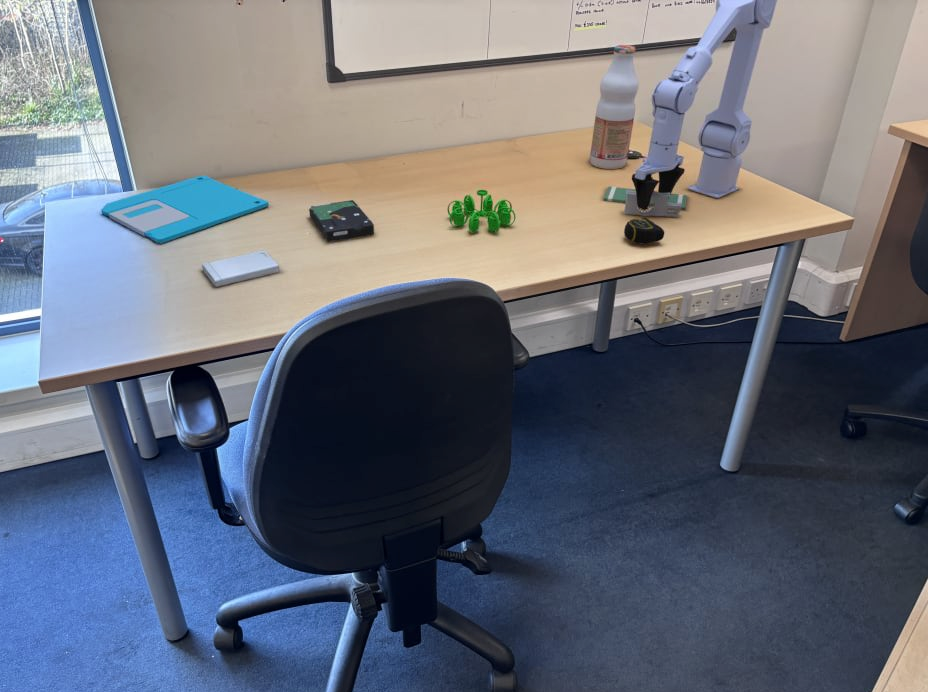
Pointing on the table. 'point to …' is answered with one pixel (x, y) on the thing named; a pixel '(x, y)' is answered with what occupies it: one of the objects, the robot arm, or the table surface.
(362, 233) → the disk drive
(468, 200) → the chandelier
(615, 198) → the towel
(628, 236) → the tape measure
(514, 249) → the table surface
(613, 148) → the fruit juice
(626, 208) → the lattice window wall
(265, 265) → the hard drive
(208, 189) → the floppy disk
